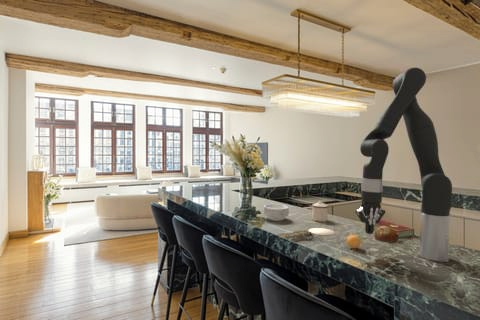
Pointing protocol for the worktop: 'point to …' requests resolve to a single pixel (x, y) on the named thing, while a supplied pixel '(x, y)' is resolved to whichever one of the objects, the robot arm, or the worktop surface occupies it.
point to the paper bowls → (276, 211)
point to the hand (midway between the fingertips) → (369, 233)
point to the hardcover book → (395, 228)
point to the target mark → (321, 231)
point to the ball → (353, 241)
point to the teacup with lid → (319, 212)
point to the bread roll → (386, 234)
